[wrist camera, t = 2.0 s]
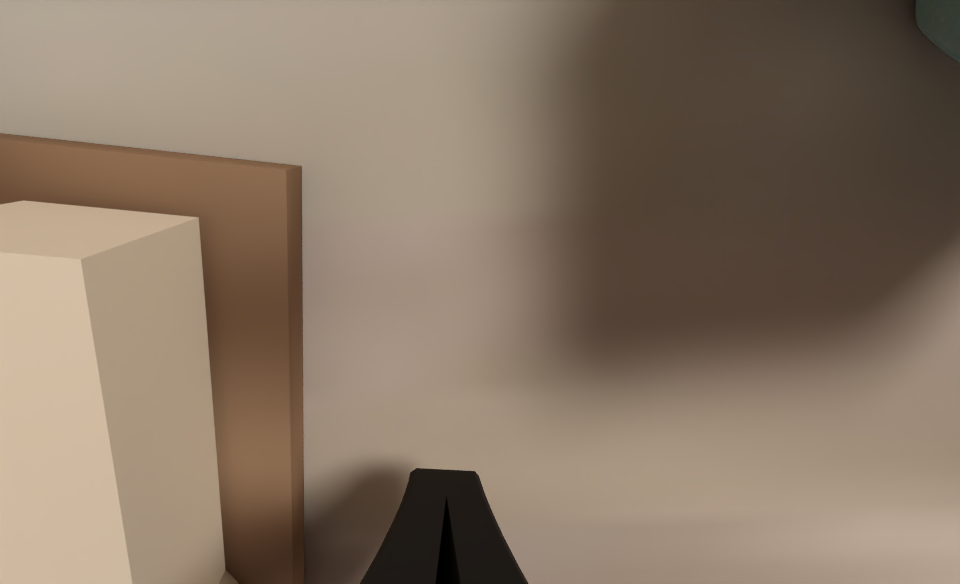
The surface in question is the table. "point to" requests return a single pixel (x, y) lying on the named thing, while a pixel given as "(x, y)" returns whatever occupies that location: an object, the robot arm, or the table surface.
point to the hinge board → (217, 315)
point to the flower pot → (940, 24)
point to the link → (105, 400)
